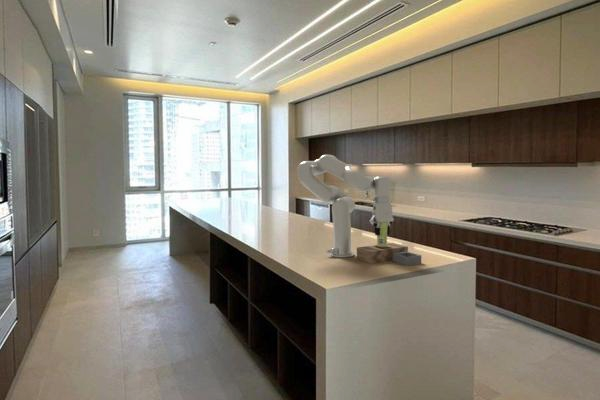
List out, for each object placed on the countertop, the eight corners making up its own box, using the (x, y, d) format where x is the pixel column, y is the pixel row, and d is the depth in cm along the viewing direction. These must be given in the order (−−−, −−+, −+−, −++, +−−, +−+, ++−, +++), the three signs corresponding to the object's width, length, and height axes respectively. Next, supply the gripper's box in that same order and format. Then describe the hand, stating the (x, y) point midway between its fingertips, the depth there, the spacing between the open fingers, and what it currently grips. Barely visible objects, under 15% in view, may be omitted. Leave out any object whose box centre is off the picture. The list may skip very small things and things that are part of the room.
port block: (370, 263, 188) (370, 251, 187) (356, 258, 198) (356, 247, 198) (407, 257, 198) (407, 246, 197) (392, 253, 209) (392, 242, 208)
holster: (406, 265, 182) (406, 257, 182) (392, 261, 191) (392, 253, 191) (421, 263, 186) (421, 255, 186) (406, 259, 195) (406, 251, 195)
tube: (380, 244, 202) (380, 208, 200) (389, 245, 198) (389, 209, 197) (375, 246, 198) (374, 209, 196) (383, 247, 194) (383, 210, 193)
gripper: (372, 201, 189) (373, 237, 190) (399, 199, 196) (399, 234, 198) (364, 200, 195) (364, 235, 197) (390, 198, 203) (390, 232, 204)
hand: (382, 234), depth 197 cm, fingers closed on tube, 5 cm apart
